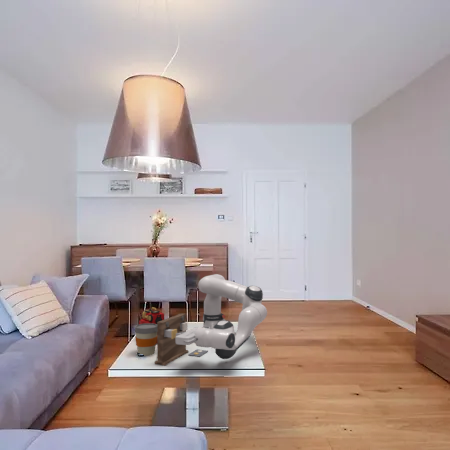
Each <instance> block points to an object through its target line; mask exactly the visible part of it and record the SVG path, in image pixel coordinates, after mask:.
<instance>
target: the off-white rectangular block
mask: <svg viewBox="0 0 450 450" xmlns="http://www.w3.org/2000/svg"><path fill="white" fill-rule="evenodd" d="M180 330H182V331H185V330H186V331H188V322H187V321H186V322H185V323H181V322H180Z"/></svg>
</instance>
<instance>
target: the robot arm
mask: <svg viewBox="0 0 450 450" xmlns="http://www.w3.org/2000/svg"><path fill="white" fill-rule="evenodd" d="M197 284H198V289H199V291H200V292H201V293H203V294H206V296H205V299H204V301H203V314H202V315H203V316H202V322H203V325H202V326H203V327H201V326H198V327H193V328H191V329H189V330H186V332H178V333H176V338H175V343H176V344H179V345H186V346H190V345H192V344H195V346H196V347H198V348H199V347H200V348H211V349H215V352H214V353H215V354H216V355H217V357H218V358H220V359H222V360H228V359H231V358H233V357H234V356H235V355H236V352H237V351H238V350H239V348H241V347H242V346H243V345H244V344H245V343H246V342H247V341H248V340H249V338H250V337H251V335H252V333H253V331H255V329H256V327H257V326H258V325H260V324H261V323H263V321H264V320H265V319H266V318H267V316H268V310H267V307H266V306H265V305H264V304H263V303H262V301H263V297H264V296H263V295H264V294H263V289H262V288H260V286H257V285H249V286H246V285H243V284H241V283H239V282H235V281H232V280H228V279H225V276H223V275H221V274H217V273H214V274H210V275H205V276H204V277H202V278H200V280H199V281H198V283H197ZM222 298H225V299H229V300H231V301H233V302H237V303H239V304H242V307H241V311H240V312H239V315H238V320H237V321H238V322H237V329H236V332H235V326H234V324H233V323H232V321H229V320H226V319H225V318H226V315H225V314H224V313H223V312H222Z"/></svg>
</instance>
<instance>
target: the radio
mask: <svg viewBox="0 0 450 450" xmlns="http://www.w3.org/2000/svg"><path fill="white" fill-rule="evenodd" d="M141 315H142V316H141V317H142V318H141V319H139V321H138V325H139V324H145V323H153V324H157V322H159V321H162V320H165V313H164V312H160V310H157V308H156V307H153V306H152V307H151V308H150V309H145V310H144V311H142V314H141Z"/></svg>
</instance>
